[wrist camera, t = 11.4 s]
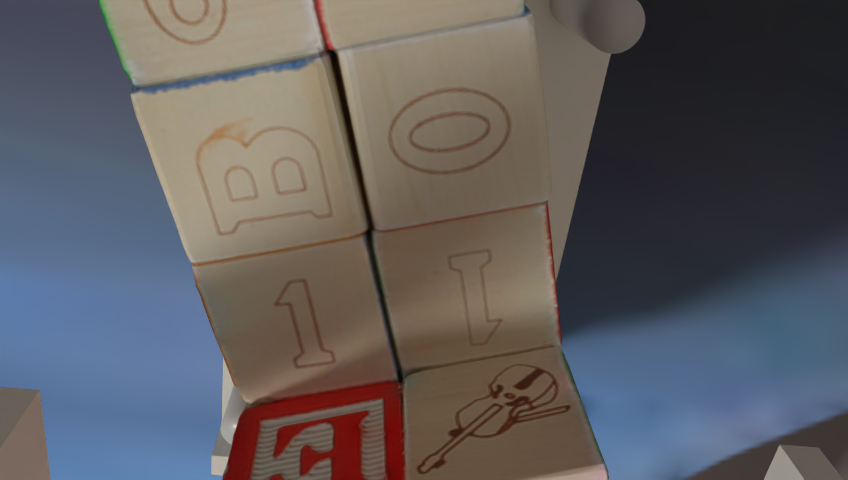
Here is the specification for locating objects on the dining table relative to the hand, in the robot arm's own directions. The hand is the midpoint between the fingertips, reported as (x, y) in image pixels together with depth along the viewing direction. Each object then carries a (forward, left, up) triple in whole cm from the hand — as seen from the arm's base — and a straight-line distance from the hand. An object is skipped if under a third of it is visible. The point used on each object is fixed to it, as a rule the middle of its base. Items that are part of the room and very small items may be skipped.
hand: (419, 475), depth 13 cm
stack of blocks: (0, 0, -10) cm, 10 cm away
